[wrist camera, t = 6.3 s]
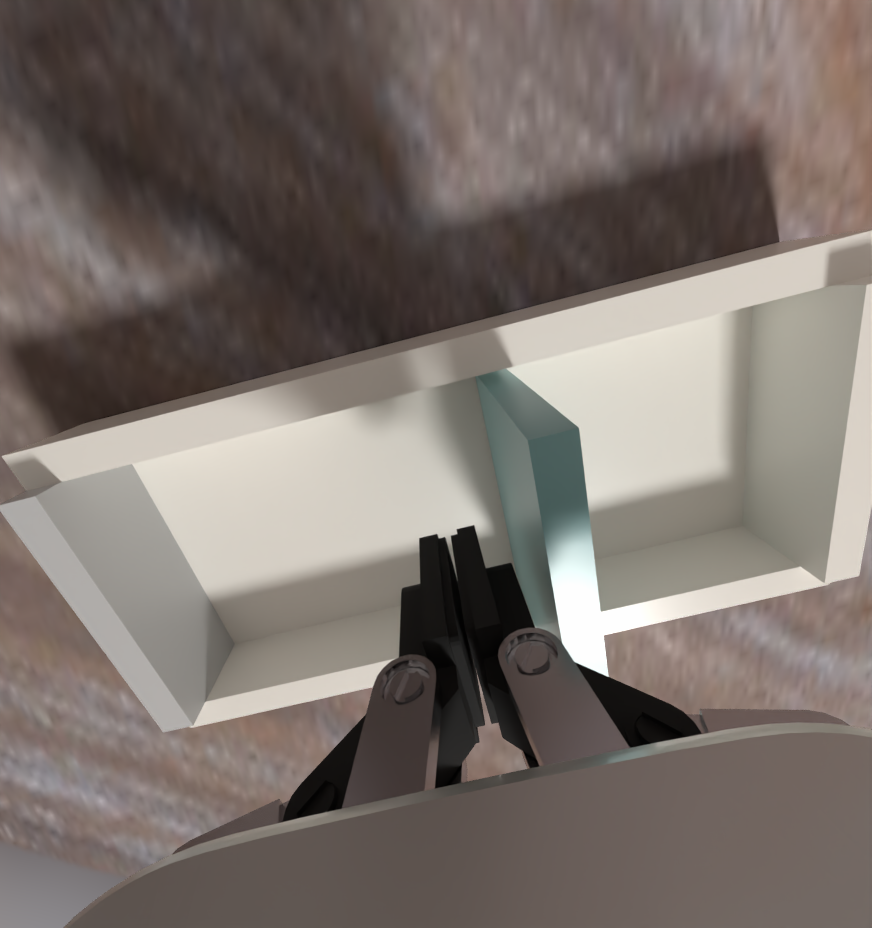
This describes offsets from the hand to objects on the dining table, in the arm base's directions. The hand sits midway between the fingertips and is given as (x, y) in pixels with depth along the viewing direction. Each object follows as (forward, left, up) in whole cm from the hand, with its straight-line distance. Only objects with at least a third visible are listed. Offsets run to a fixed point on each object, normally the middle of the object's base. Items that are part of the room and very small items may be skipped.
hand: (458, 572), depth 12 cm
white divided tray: (0, 0, -6) cm, 6 cm away
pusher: (0, +3, -5) cm, 6 cm away
